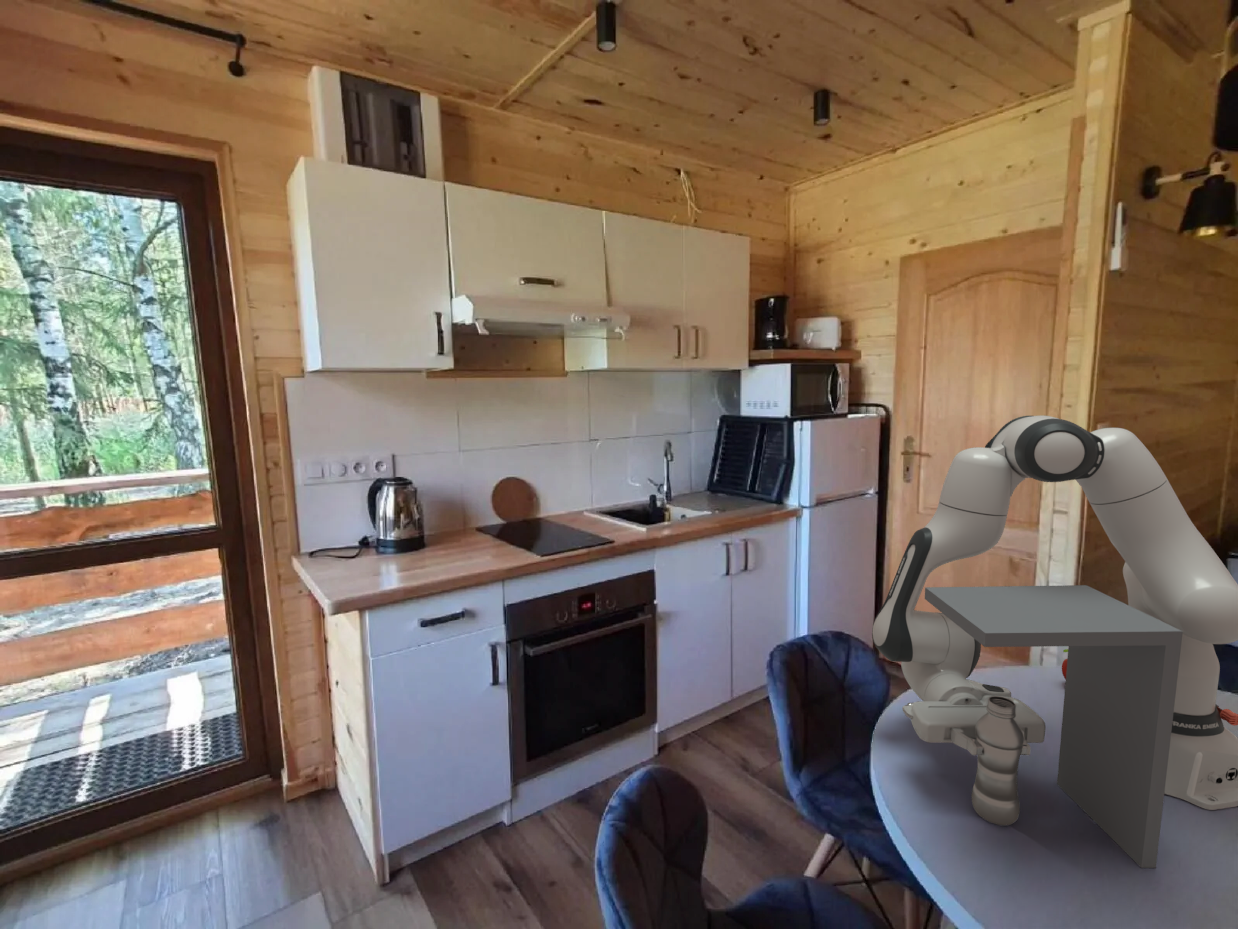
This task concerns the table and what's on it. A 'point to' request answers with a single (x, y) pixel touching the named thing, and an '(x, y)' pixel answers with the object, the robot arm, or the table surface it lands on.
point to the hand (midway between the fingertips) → (1002, 751)
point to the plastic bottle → (998, 763)
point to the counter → (1093, 694)
